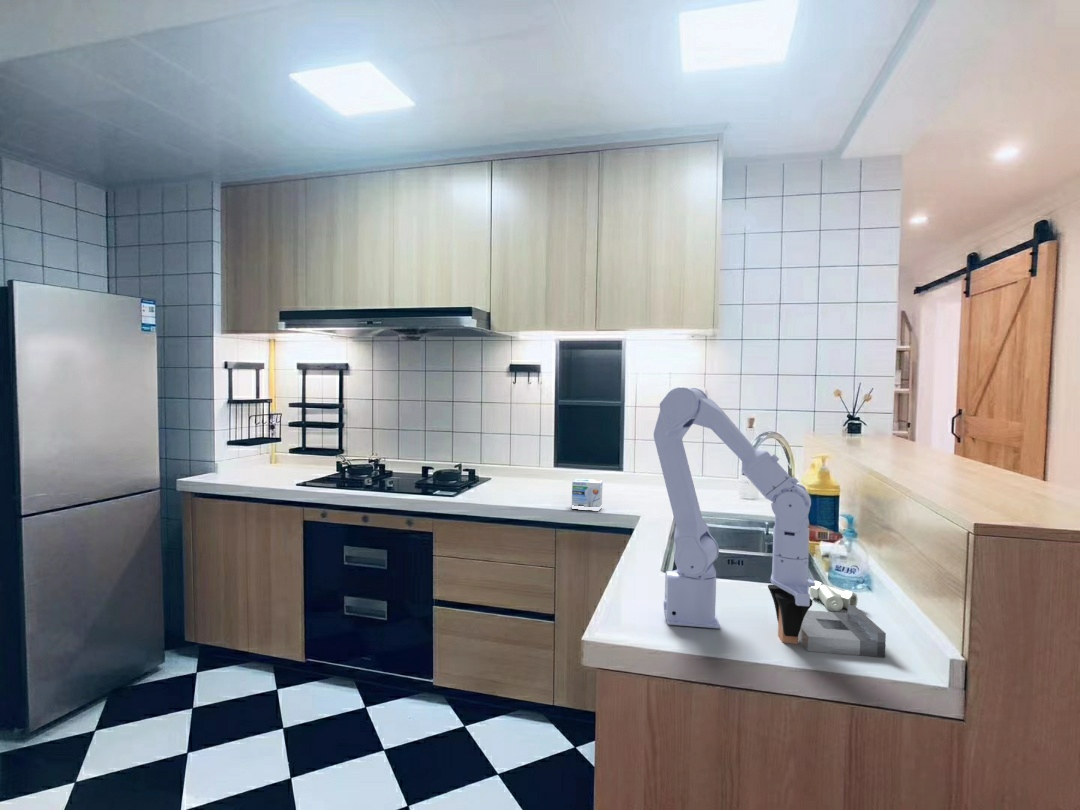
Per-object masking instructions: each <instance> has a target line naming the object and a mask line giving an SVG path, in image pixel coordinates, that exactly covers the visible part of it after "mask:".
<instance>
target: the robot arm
mask: <svg viewBox="0 0 1080 810" xmlns="http://www.w3.org/2000/svg"><path fill="white" fill-rule="evenodd" d="M665 395H666V396H664V398H663V399H662V400H661V401H660V402H659V413H658V415H657V420H656V424H655V427H654V431H653V440H654V444H655V447H656V453H657V456H658V459H659V464H660V468H661V471H662V475H663V479H664V483H665V487H666V491H667V496H668V499H669V503H670V508H671V512H672V514H673V519H674V523H675V529H674V535H673V539H674V544H675V551H674V555H673V561H674V563H675V566H676V569H674V570H666V571H665V580H664V600H663V610H664V614H665V619H666V623H667V625H669V626H670V625H671V626H683V627H695V628H696V627H698V628H707V629H708V628H709V629H721V624H720V621H719V619H718V616H717V615H716V605H717V604H716V598H717V597H716V596H717V571H716V568H715V566H714V562H715V561H717V558H718V557H719V553H720V551H719V550H720V548H719V544H718V542H717V540H716V539H715V538H714V537H713V536H712V534H711V532H710V528H709V526H708V524H707V523H706V521H705V520H704V518H703V516H702V512H701V509H700V508H701V507H700V503H699V501H698V496H697V492H696V490H695V489H696V487H695V484H694V480H693V476H692V473H691V470H690V465H689V462H688V457H687V453H686V449H685V445H684V441H683V438H684V437H685V435H686V434H687V432H688V431H689V429H691V427H692V425H693V424H694V425H697V426H700V427H702V428H703V427H704V428H707V429H710V430H711V431H712V432H713V433H714V434H715V435H716V436H717V437H718V438H719V439H720V440H721V441H722V442H723V443H724V444H725V445H726V446H727V447H728V449H730V451H731V452H732V453H734V454H735V455H736V456H737V457H738V458H739V459H740V461H741V472H742V473H743V474H744V476H745V477H746V478H747V479H748V480H749V482H751V483H752V485H753V486H754V487H755V488H756V489H757V491H759V492H760V494H761V495H762V496H764V498H765V499H766V500H769V501H770V502H771V504H770V505H771V510H772V512H773V514H774V526H773V529H772V530H773V532H772V533H773V534H772V536H773V537H772V538H773V539H772V565H771V569H772V571H771V575H770V582H771V584H768V585H767V588H768V590H769V593H770V594H771V597H772V600H773V604H774V609H775V613H776V615H775V616H776V619H777V622H778V621H779V606H780V610H781V616H782V625H783V631H784V634H785V636H792V637H798V635H799V632H800V629H801V625H802V622H803V619H804V616H805V614H806V612H807V611H808V610H810V608H811V607H812V606H813V600H812V598H811V594H809V591H810V590H809V589H810V588H811V587H814V586H815V582H814V581H815V580H813V579H810V578H809V555H810V553H809V551H810V549H809V548H810V530H809V527H810V526H809V525H810V520H809V513H810V510H811V506H812V498H811V496H810V493H809V492H808V491H807V488H806V487H805V486H803V485H802V484H800V483H799V480H798V479H797V478H796V477H792V476H791V475H790V474H789V473H788V472H787V471H786V469H784V468H783V466H781V465H780V463H779V462H778V461H780V458H779V457H778V456H777V455H776V454H775V453H773V454H771V453H770V452H768V450H759V449H757V448H755V447H754V445H753V444H752V443H751V442H750V441H749V440H748V438H747V437H746V436H745V435H744V434H743V432H742V431H741V430H740V429H739V428H738V427H737V426H736V424H735V423H734V422H733V421H732V420H731V419H730V417H729V416H728V414H727V413H725V411H724V410H723V409H722V407H720V406H719V405H718V403H716V402H715V401H714V400H713V399H711V398H709V397H708V396H707V394H706V393H705V392H704V391H703V390H701V388H697V387H690V388H688V387H684V386H678V387H675V388H672V389H671V390H669V392H668V393H667V394H665Z"/></svg>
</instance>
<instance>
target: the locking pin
mask: <svg viewBox="0 0 1080 810" xmlns="http://www.w3.org/2000/svg"><path fill="white" fill-rule="evenodd" d="M777 623H778V624H777V626H778V627H777V628H778V629H777V636H778V638H779V640H780V641H781V643H784V644H785V643H786V644H787V643H788V644H796V645H797V644H799V639H798V637H792V636H785V634H784V631H783V625H782V616H781V610H780V606H779V621H778V620H777Z"/></svg>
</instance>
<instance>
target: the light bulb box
mask: <svg viewBox="0 0 1080 810" xmlns="http://www.w3.org/2000/svg"><path fill="white" fill-rule="evenodd" d="M603 481H604V480H602V479H589V478H588V479H585V478H575V479H574V480H572V484H571V486H572V488H571V506H572V505H574V506H584V507H600V506H601V505H602V506H603Z"/></svg>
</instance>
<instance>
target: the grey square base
mask: <svg viewBox="0 0 1080 810" xmlns="http://www.w3.org/2000/svg"><path fill="white" fill-rule="evenodd" d="M886 634H887V633H886V632H885V631H884V630H883V629H881V627H879V626H878V625H877V624H876V623H875V622H874V621H872V620H871V618H869V617H868V616H867V615H866V614H865V613H863V611H861V610H860V609H859V608H858V607H857V606H852V605H848V609H847V612H839V611H821V610H811V609H808V611H807V612H806V614H805V616H804V619H803V622H802V625H801V629H800V632H799V635H798V641H800V643H801V644H802V645H803V647H804V648H805V650H806V651H807V652H814V653H815V652H816V653H827V654H838V655H840V654H841V655H850V656H852V655H853V656H861V655H862V657H863V656H865V657H874V658H875V657H876V658H886V638H887V635H886Z"/></svg>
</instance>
